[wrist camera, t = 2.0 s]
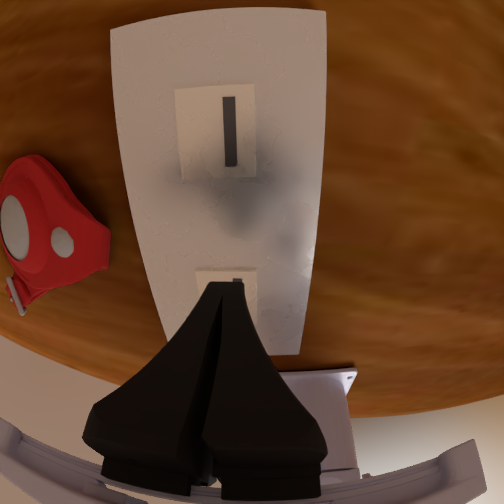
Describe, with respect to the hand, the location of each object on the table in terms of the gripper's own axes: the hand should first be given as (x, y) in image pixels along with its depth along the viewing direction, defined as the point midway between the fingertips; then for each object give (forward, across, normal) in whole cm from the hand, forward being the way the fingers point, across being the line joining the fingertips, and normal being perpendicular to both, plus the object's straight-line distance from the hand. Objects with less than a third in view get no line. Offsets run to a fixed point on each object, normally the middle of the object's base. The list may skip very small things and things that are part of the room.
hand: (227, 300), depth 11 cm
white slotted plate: (+4, 0, -1) cm, 5 cm away
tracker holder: (+5, +13, -1) cm, 14 cm away
